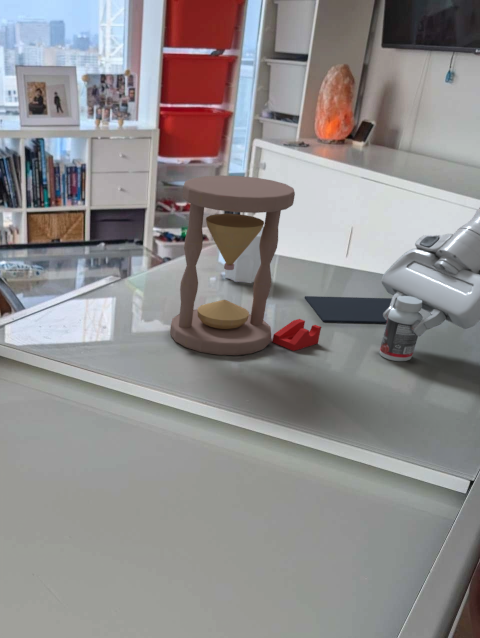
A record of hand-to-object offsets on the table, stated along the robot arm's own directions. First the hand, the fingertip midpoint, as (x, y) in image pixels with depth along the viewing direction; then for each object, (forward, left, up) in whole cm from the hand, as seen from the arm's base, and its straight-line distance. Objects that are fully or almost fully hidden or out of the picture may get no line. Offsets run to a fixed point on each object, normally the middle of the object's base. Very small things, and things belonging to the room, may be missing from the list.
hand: (399, 325), depth 126 cm
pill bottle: (-1, 0, -6) cm, 6 cm away
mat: (-2, -23, -5) cm, 24 cm away
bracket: (+15, -5, -6) cm, 17 cm away
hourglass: (+28, -7, -6) cm, 30 cm away
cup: (+17, -43, -6) cm, 47 cm away
